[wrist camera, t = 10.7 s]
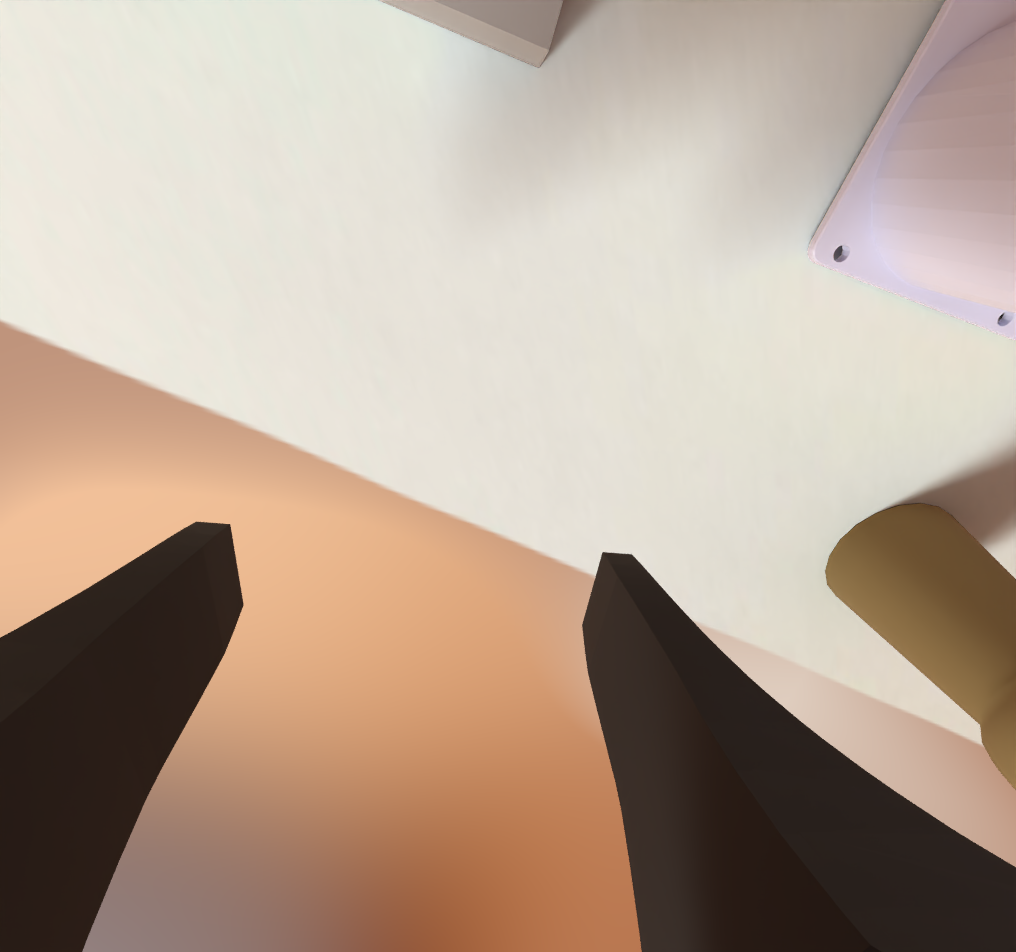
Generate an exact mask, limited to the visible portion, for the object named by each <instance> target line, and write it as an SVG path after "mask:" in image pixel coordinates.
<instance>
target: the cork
mask: <svg viewBox="0 0 1016 952" xmlns="http://www.w3.org/2000/svg"><path fill="white" fill-rule="evenodd" d="M825 573H826V579H827V585H828V586H829V587H830V589H831V590H832V591H833V593H834V594H835V595H836V596H837V597H838V598H839V599H840V600H841V601H842V602H844V603H845V604H846V605H847V606H848V607H849V608H850V609H851V610H853V611H854V612H855V613H856V614H857V615H858V616H859V617H860V618H861V619H863V620H864V621H865V622H866V623H867V624H868V625H869V626H870V627H871V628H873V629H874V630H875V631H876V632H877V633H878V634H879V635H880V636H882V637H883V638H884V639H885V640H886V641H887V642H888V643H889V644H890V645H892V646H893V647H894V648H895V649H896V650H897V651H898V652H899V653H901V654H902V655H903V656H904V657H905V658H906V659H907V660H908V661H909V662H911V663H912V664H913V665H914V666H915V667H916V668H917V669H918V670H920V671H921V672H922V673H923V674H924V675H925V676H926V677H927V678H928V679H930V680H931V681H932V682H933V683H934V684H935V685H936V686H937V687H939V688H940V689H941V690H942V691H943V692H944V693H945V694H946V695H947V696H949V697H950V698H951V699H952V700H953V701H954V702H955V703H956V704H957V705H959V706H960V707H961V708H962V709H963V710H964V711H965V712H966V713H968V714H969V715H970V716H971V717H972V718H973V719H974V720H975V721H976V722H978V723H979V724H980V727H981V737H982V743H983V745H984V747H985V749H986V750H987V752H988V754H989V756H990V757H991V760H992V761H993V763H994V764H995V765H996V767H997V768H998V770H999V771H1000V772H1001V774H1003V776H1004V777H1005V778H1006V779H1007V781H1008V782H1009V783H1010V784H1011V785H1012V787H1013V788H1014V789H1016V579H1015V578H1014V577H1013V576H1012V575H1011V574H1010V573H1009V572H1008V571H1007V570H1006V569H1005V568H1004V567H1003V566H1002V565H1001V564H1000V563H999V562H998V561H997V560H996V559H995V558H994V557H993V556H992V555H991V554H990V553H989V552H988V551H987V550H986V549H985V548H984V547H983V546H982V545H981V544H980V543H979V542H978V541H977V540H976V539H975V538H974V537H973V536H972V535H971V534H970V533H969V532H968V531H967V530H966V529H965V528H964V527H963V526H962V525H961V524H960V523H959V522H958V521H957V520H956V519H955V518H954V517H953V516H952V515H950V514H949V513H947V512H946V511H944V510H943V509H941V508H940V507H938V506H932V505H927V504H921V503H918V504H908V505H899V506H896V507H893V508H890V509H887V510H884V511H881V512H878V513H876V514H874V515H872V516H871V517H869V518H867V519H866V520H864V521H862V522H861V523H859V524H857V525H856V526H855V527H854V528H853V529H851V530H850V531H849V532H848V533H847V534H846V535H845V536H844V537H843V538H842V539H840V541H839V542H838V544H837V545H836V547H835V548H834V550H833V551H832V553H831V554H830V556H829V559H828V563H827V567H826V570H825Z"/></svg>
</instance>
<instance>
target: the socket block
mask: <svg viewBox="0 0 1016 952" xmlns="http://www.w3.org/2000/svg"><path fill="white" fill-rule="evenodd" d="M380 1H382V2H384V3H387V4H389V5H391V6H394V7H396V8H398V9H401V10H403V11H406V12H408V13H410V14H413V15H415V16H417V17H420V18H422V19H424V20H427V21H429V22H431V23H434V24H436V25H439V26H441V27H443V28H446V29H448V30H450V31H453V32H455V33H457V34H460V35H462V36H465V37H467V38H469V39H472V40H474V41H476V42H479V43H481V44H483V45H486V46H488V47H491V48H493V49H495V50H498V51H500V52H502V53H505V54H507V55H509V56H512V57H514V58H517V59H519V60H521V61H524V62H526V63H528V64H531V65H533V66H535V67H538V68H539V67H540V65H541V63H542V62H543V60H544V58H545V57H546V55H547V53H548V51H549V49H550V46H551V42H552V39H553V35H554V32H555V28H556V25H557V21H558V18H559V14H560V11H561V7H562V4H563V0H380Z"/></svg>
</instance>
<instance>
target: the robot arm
mask: <svg viewBox="0 0 1016 952" xmlns="http://www.w3.org/2000/svg"><path fill="white" fill-rule="evenodd" d="M839 246H842V249H843V251H842V254H841V255H840V257H839V258H838V259H836V260H834V257H833V255H834V252H835V250H836V249H837V248H838V247H839ZM808 257H809V259H810V260H811V261H812V262H814V263H816V264H819V265H821V266H824V267H826V268H829V269H832V270H834V271H837V272H839V273H842V274H844V275H847V276H850V277H852V278H855V279H857V280H860V281H862V282H865V283H868V284H870V285H873V286H875V287H878V288H881V289H883V290H886V291H888V292H891V293H893V294H896V295H899V296H901V297H904V298H906V299H909V300H911V301H914V302H917V303H919V304H922V305H924V306H927V307H929V308H932V309H935V310H937V311H940V312H942V313H945V314H947V315H950V316H953V317H955V318H958V319H960V320H963V321H966V322H968V323H971V324H973V325H976V326H978V327H981V328H984V329H986V330H989V331H991V332H994V333H996V334H999V335H1002V336H1004V337H1007V338H1010V339H1013V340H1016V0H945V2H944V4H943V6H942V7H941V9H940V11H939V13H938V15H937V16H936V18H935V20H934V22H933V23H932V25H931V27H930V29H929V31H928V32H927V34H926V36H925V38H924V40H923V41H922V43H921V45H920V47H919V48H918V50H917V52H916V54H915V56H914V57H913V59H912V61H911V63H910V65H909V66H908V68H907V70H906V72H905V73H904V75H903V77H902V79H901V81H900V82H899V84H898V86H897V88H896V90H895V91H894V93H893V95H892V97H891V99H890V100H889V102H888V104H887V106H886V107H885V109H884V111H883V113H882V115H881V116H880V118H879V120H878V122H877V124H876V125H875V127H874V129H873V131H872V132H871V134H870V136H869V138H868V140H867V141H866V143H865V145H864V147H863V149H862V150H861V152H860V154H859V156H858V158H857V159H856V161H855V163H854V165H853V166H852V168H851V170H850V172H849V174H848V175H847V177H846V179H845V181H844V183H843V184H842V186H841V188H840V190H839V191H838V193H837V195H836V197H835V199H834V200H833V202H832V204H831V206H830V208H829V209H828V211H827V213H826V215H825V216H824V218H823V220H822V222H821V224H820V225H819V227H818V229H817V231H816V233H815V234H814V236H813V238H812V240H811V242H810V244H809V247H808ZM1003 313H1004V315H1003V317H1002V318H1001V319H1000V320H999V321H998V319H999V317H1000V316H1001V315H1002V314H1003ZM242 608H243V599H242V593H241V587H240V581H239V576H238V569H237V563H236V557H235V551H234V545H233V539H232V533H231V527H230V524H220V523H219V524H218V523H205V522H195V523H193V524H191V525H190V526H188V527H186V528H184V529H183V530H181V531H179V532H178V533H176V534H174V535H173V536H171V537H170V538H168V539H166V540H165V541H163V542H161V543H160V544H158V545H157V546H155V547H153V548H152V549H150V550H149V551H147V552H145V553H144V554H142V555H141V556H139V557H137V558H136V559H134V560H133V561H131V562H129V563H128V564H126V565H125V566H123V567H121V568H120V569H118V570H117V571H115V572H113V573H112V574H110V575H108V576H107V577H105V578H104V579H102V580H100V581H99V582H97V583H95V584H94V585H92V586H91V587H89V588H87V589H86V590H84V591H82V592H81V593H79V594H77V595H75V596H74V597H72V598H70V599H68V600H67V601H65V602H63V603H61V604H59V605H58V606H56V607H54V608H52V609H51V610H49V611H47V612H45V613H44V614H42V615H40V616H38V617H37V618H35V619H33V620H31V621H30V622H28V623H26V624H24V625H23V626H21V627H19V628H18V629H16V630H14V631H12V632H10V633H8V634H7V635H4V636H3V637H1V638H0V952H82V951H83V948H84V945H85V943H86V940H87V937H88V935H89V933H90V930H91V927H92V925H93V923H94V920H95V918H96V916H97V913H98V911H99V908H100V906H101V903H102V901H103V899H104V896H105V893H106V891H107V889H108V886H109V884H110V882H111V879H112V877H113V874H114V872H115V870H116V867H117V865H118V862H119V860H120V858H121V855H122V853H123V851H124V848H125V846H126V844H127V842H128V839H129V837H130V835H131V832H132V830H133V828H134V826H135V823H136V821H137V819H138V816H139V814H140V812H141V810H142V807H143V805H144V803H145V800H146V798H147V796H148V794H149V792H150V790H151V788H152V786H153V784H154V783H155V781H156V779H157V776H158V775H159V773H160V771H161V769H162V767H163V765H164V763H165V762H166V760H167V758H168V756H169V754H170V752H171V751H172V749H173V747H174V745H175V743H176V741H177V740H178V738H179V736H180V734H181V733H182V731H183V729H184V727H185V725H186V724H187V722H188V720H189V718H190V716H191V715H192V713H193V711H194V709H195V707H196V706H197V704H198V702H199V700H200V698H201V696H202V695H203V693H204V691H205V689H206V687H207V685H208V684H209V682H210V680H211V678H212V676H213V674H214V673H215V670H216V669H217V667H218V665H219V663H220V661H221V659H222V658H223V656H224V654H225V651H226V649H227V646H228V644H229V642H230V639H231V637H232V634H233V632H234V629H235V626H236V624H237V621H238V618H239V616H240V613H241V610H242ZM582 627H583V636H584V645H585V654H586V661H587V668H588V674H589V678H590V683H591V687H592V691H593V695H594V699H595V703H596V707H597V711H598V715H599V719H600V723H601V727H602V731H603V735H604V738H605V742H606V746H607V750H608V755H609V759H610V762H611V766H612V770H613V774H614V778H615V782H616V787H617V791H618V796H619V801H620V806H621V810H622V817H623V823H624V830H625V835H626V843H627V849H628V855H629V862H630V867H631V875H632V882H633V890H634V896H635V904H636V910H637V918H638V925H639V933H640V941H641V949H642V952H1016V867H1014V866H1013V865H1011V864H1009V863H1007V862H1006V861H1004V860H1003V859H1001V858H999V857H997V856H996V855H994V854H993V853H991V852H989V851H988V850H986V849H984V848H983V847H981V846H979V845H977V844H976V843H974V842H972V841H971V840H969V839H968V838H966V837H964V836H962V835H961V834H959V833H958V832H956V831H955V830H953V829H951V828H950V827H948V826H947V825H945V824H944V823H942V822H941V821H939V820H938V819H936V818H935V817H933V816H932V815H930V814H929V813H927V812H925V811H924V810H922V809H921V808H919V807H918V806H916V805H915V804H913V803H912V802H910V801H909V800H907V799H906V798H904V797H903V796H901V795H900V794H898V793H897V792H895V791H894V790H892V789H891V788H890V787H888V786H887V785H885V784H884V783H882V782H881V781H880V780H878V779H877V778H875V777H874V776H872V775H871V774H870V773H868V772H867V771H865V770H864V769H863V768H861V767H860V766H858V765H857V764H856V763H854V762H853V761H852V760H850V759H849V758H848V757H846V756H845V755H843V754H842V753H841V752H840V751H838V750H837V749H836V748H834V747H833V746H832V745H830V744H829V743H828V742H826V741H825V740H824V739H822V738H821V737H820V736H818V735H817V734H816V733H814V732H813V731H812V730H811V729H810V728H808V727H807V726H806V725H804V724H803V723H802V722H801V721H799V720H798V719H797V718H796V717H795V716H793V715H792V714H791V713H790V712H789V711H787V710H786V709H785V708H784V707H783V706H782V705H780V704H779V703H778V702H777V701H775V699H773V698H772V697H771V696H770V695H769V694H767V693H766V692H765V691H764V690H763V689H762V688H761V687H759V686H758V685H757V684H756V683H755V682H754V681H753V680H752V679H750V678H749V677H748V676H747V675H746V674H745V673H744V672H743V671H742V670H741V669H740V668H739V667H738V666H737V665H736V664H735V663H734V662H732V660H731V659H729V658H728V657H727V656H726V655H725V654H724V653H723V652H722V651H721V650H720V649H719V648H718V647H717V646H716V645H715V644H714V643H713V642H712V641H711V640H710V639H709V638H708V637H707V636H706V635H705V634H704V633H703V632H702V631H701V630H700V629H699V627H698V626H697V625H696V624H695V623H694V622H693V621H692V620H691V619H690V618H689V617H688V616H687V615H686V614H685V613H684V612H683V610H682V609H681V608H680V607H679V606H678V605H677V604H676V603H675V602H674V601H673V599H672V598H671V597H670V596H669V595H668V594H667V593H666V592H665V591H664V589H663V588H662V587H661V586H660V585H659V584H658V583H657V582H656V580H655V579H654V578H653V577H652V576H651V575H650V574H649V573H648V572H647V570H646V569H645V568H644V567H643V566H642V565H641V564H640V563H639V562H638V560H637V559H636V558H635V557H634V556H633V555H632V554H619V553H606V552H603V553H602V556H601V560H600V563H599V567H598V571H597V574H596V578H595V581H594V585H593V588H592V592H591V596H590V599H589V603H588V606H587V610H586V613H585V617H584V621H583V624H582Z"/></svg>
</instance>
